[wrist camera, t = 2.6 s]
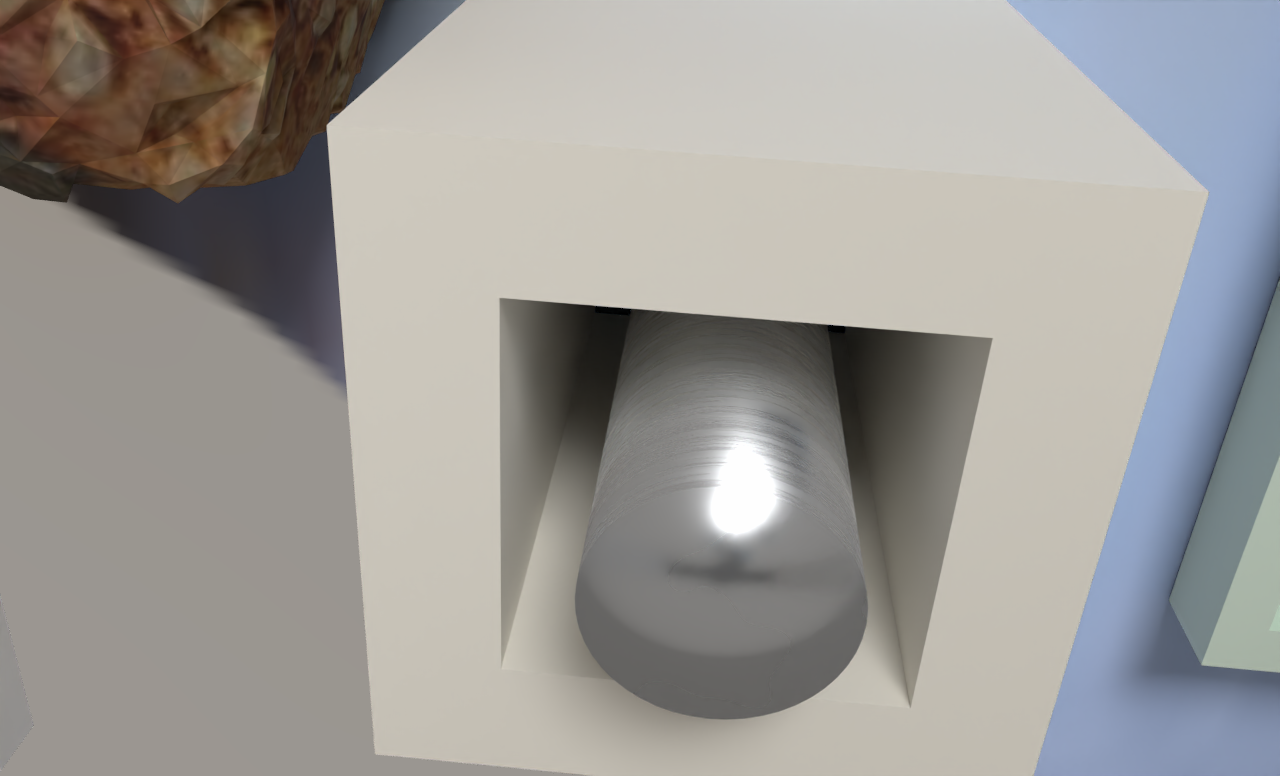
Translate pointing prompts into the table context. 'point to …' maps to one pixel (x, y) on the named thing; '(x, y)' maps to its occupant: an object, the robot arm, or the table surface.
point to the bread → (170, 89)
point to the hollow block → (748, 288)
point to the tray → (1240, 529)
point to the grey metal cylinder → (723, 519)
